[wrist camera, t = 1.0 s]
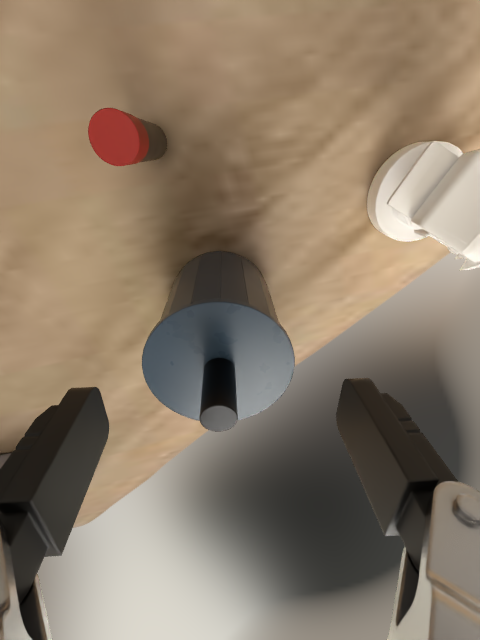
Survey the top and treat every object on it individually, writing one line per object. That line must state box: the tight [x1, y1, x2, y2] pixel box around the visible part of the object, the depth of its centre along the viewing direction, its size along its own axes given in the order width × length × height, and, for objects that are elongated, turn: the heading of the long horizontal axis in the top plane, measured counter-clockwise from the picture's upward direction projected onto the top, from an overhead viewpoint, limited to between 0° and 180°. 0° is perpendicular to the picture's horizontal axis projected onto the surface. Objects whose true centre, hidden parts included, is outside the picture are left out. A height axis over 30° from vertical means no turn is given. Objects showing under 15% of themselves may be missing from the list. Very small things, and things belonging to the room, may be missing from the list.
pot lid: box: [142, 298, 295, 432], centre depth 21 cm, size 12×12×6 cm
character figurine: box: [367, 141, 480, 270], centre depth 24 cm, size 9×10×12 cm
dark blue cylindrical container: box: [160, 251, 278, 321], centre depth 29 cm, size 11×11×12 cm
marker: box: [88, 108, 167, 166], centre depth 22 cm, size 3×3×10 cm
